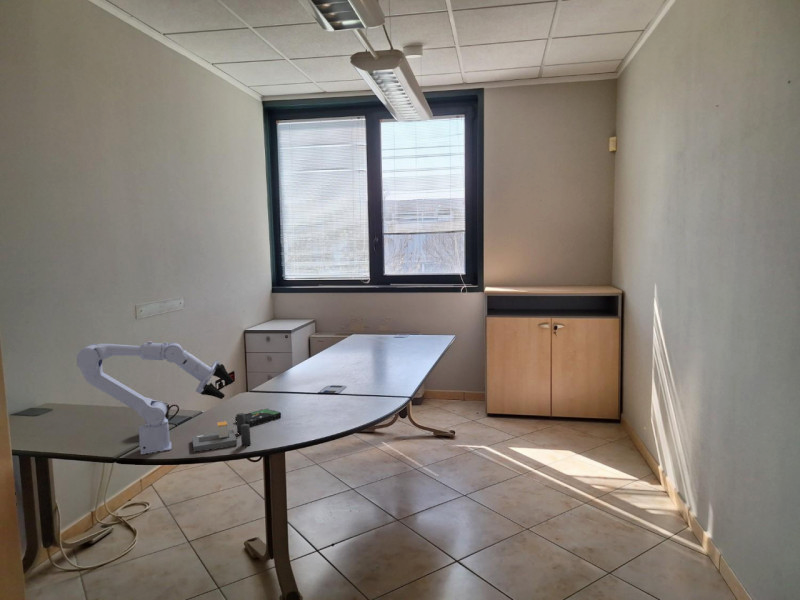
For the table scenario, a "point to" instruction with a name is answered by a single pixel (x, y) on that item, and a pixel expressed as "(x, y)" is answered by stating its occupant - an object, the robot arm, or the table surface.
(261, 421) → the disk drive
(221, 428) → the block
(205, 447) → the breaker panel
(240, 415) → the cylinder
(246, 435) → the post
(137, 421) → the table surface
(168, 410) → the coffee mug
